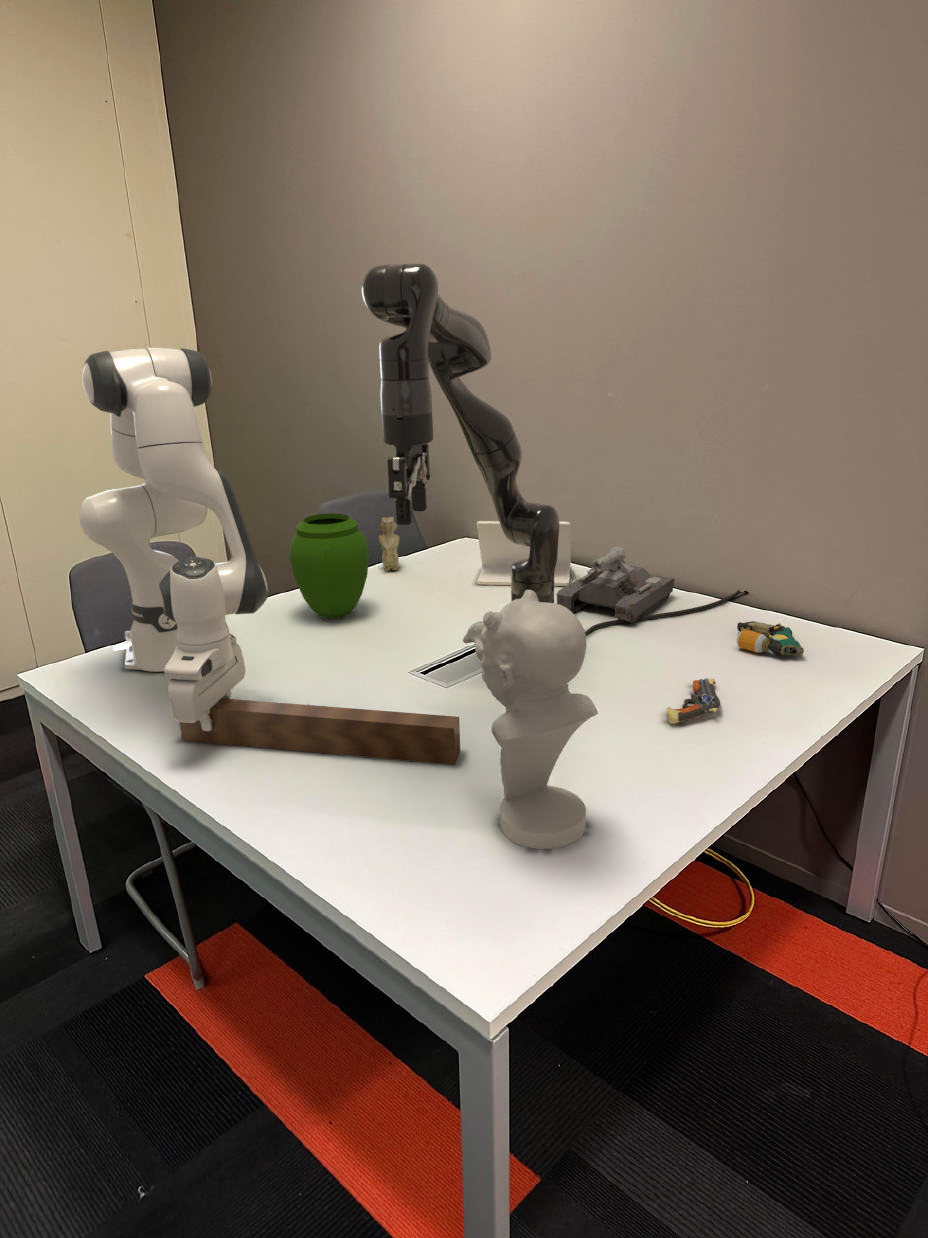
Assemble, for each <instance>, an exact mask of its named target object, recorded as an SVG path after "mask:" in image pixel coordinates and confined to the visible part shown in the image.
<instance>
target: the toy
mask: <svg viewBox="0 0 928 1238" xmlns="http://www.w3.org/2000/svg"><path fill="white" fill-rule="evenodd" d="M626 557H627V556H626V551H625V549H624V548H622V547H621V546H614V547H612V548H611V549H610V550H609V552H608V553H607V554H605V555H604V556H601V557H599V558H598V559H597V557H596V558H594V559H593V560H592V561H590V562H589V563H590V564H591V565H592V567H591V568H590V569H589V570H587V573H586V575H584V576H582V577H580V578H578V579H577V580H575V581H573V582H570V583H569V585H567V586H563V587H562V588H560V589H559V590H558V591H557V592H556V604H559V605H562V606H564V607H566V608H567V609H569V610H570V611H571V612H572V613H575V612H577V611H579V610H581V609H582V608H585V607H586V606H588V605H592V606H598V607H602V608H603V607H604V608H609V609H613V610H614V618H615V619H616V620H619V619H621V620H623V621H625V623H631V624H634V623H635V622H637V621H639V620H638V618H639V616H646V615H648V613H650V612H651V611H652V610H654V609H655V608H657V607H659V606H660V605H661V604H663V603H664V602H666V601H667V600H669V598H670V596H671V594H672V593H673V591H674V585H675V580H676V579H675V578H673V577H668V576H663V575H656V576H655V577H654V576H651V574H650V573H649V572H648V571H647V570H646V568H644V567H641V566H635V565H629V564H628V563H627V562H626V561H625V559H626ZM636 620H637V621H636Z"/></svg>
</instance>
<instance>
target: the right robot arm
mask: <svg viewBox="0 0 928 1238" xmlns="http://www.w3.org/2000/svg"><path fill="white" fill-rule="evenodd" d="M438 282H439V281H438V278H437V276H436V274H435V272H434V270H433V269H432V267H430V266H429V265H428V264H426V263H422V262H417V263H416V262H415V263H413V262H412V263H411V262H410V263H392V264H388V263H387V264H378V265H375V266H373V267H372V268H370V269H369V270H368V271H367V272H366V273H365V275H364V277H363V280H362V284H361V294H362V299H363V302H364V305H365V306H366V308H367V310H368V311H369V312H370V313H371V314H372V315H373V316H374V317H375V318H376V319H377V320H380V321H383V322H385V323H388V324H391V325H394V326H397V327H400V328H404V329H405V330H404V331H403V332H400V333H397V334H391V335H388V336H386V337H384V338H382V339H381V340H380V343H379V350H378V351H379V367H380V395H379V396H380V411H381V413H380V415H381V429H382V441H383V443H384V444H386V445H388V446H394V448H395V449H394V456H388V458H387V479H388V497H389V499H393V500H394V501H395V502H394V503H395V519H396V525H400V526H410V525H411V524H412V522H413V514H412V513H413V512H412V511H414V512H425V511H426V510H427V507H428V505H427V486H428V483H429V482H428V481H430V480H431V470H430V467H431V466H430V452H429V449H430V447H429V443H432V442H433V440H434V423H433V421H434V420H433V401H432V399H433V398H432V397H433V396H432V387H431V382H430V370H431V372H432V374H433V376H434V377H435V380H436V381H437V383H438V385H439V387H440V388H441V391H442V393H443V394H444V396H445V398H446V400H447V401H448V403H449V405H450V407H451V409H452V411H453V413H454V415H455V418H456V420H457V422H458V424H459V426H460V428H461V431H462V433H463V436H464V439H465V440H466V443H467V445H468V448H469V451H470V452H471V455H472V457H473V459H474V462H475V463H476V465H477V467H478V469H479V471H480V474H481V476H482V478H483V480H484V483H485V485H486V487H487V489H488V492H489V495H490V497H491V500H492V503H493V506H494V509H495V512H496V516H497V519H498V521H499V522H500V525H501V528H502V530H503V533H504V535H505V536H506V538H507V539H508V540H509V541H511V542H512V543H515V544H518V545H523V546H528V547H530V553H529V558H526V559H522V560H519V561H516V562H515V563H513V565H512V567H511V585H510V588H511V589H510V597H511V599H510V602H511V601H513V600H516V599H521V598H522V597H523V595H524V592H525V591H526V590H532V591H534V592H535V593H536V595H537V597H538V599H539V602H545V603H555V586H554V572H555V567H556V564H557V558H558V541H559V522H560V519H559V518H560V517H559V514H558V511H557V509H556V508H555V507H554V506H553V505H551V504H547V503H541V502H540V503H539V502H533V501H528V500H526V499H525V498H524V497H523V495H522V493H521V491H520V488H519V486H518V482H517V476H518V474H519V470H520V468H521V463H522V457H523V452H522V447H521V443H520V441H519V438H518V435H517V433H516V431H515V429H514V425H513V423H512V421H510V419H509V418H508V417H507V416H506V415H505V414H504V413H502V412H501V411H500V410H498V409H497V408H496V407H494V406H493V405H491V404H489V403H488V402H486V401H484V400H483V399H481V398H480V397H478V396H477V395H476V394H474V392H472V391H471V390H470V389H469V388H468V387H467V385H465V383H464V381H462V379H461V377H464V376H467V375H470V374H473V373H475V372H478V371H480V370H483V369H484V368H486V367H487V366H489V364H490V362H491V360H492V350H491V344H490V340H489V337H488V334H487V331H486V330H485V327H484V326H483V324H482V322H480V321H479V319H477V317H475V316H473V315H471V314H470V313H469V314H468V313H466V312H465V311H462V310H461V309H458V308H456V307H454V306H452V305H450V304H448V303H447V302H446V300H444V299H443V297H442V296H441V295H440V294H439V283H438ZM429 369H430V370H429ZM400 488H401V489H400ZM747 591H748V590H747ZM747 591H744V592H743V593H744V594H746V595H748V594H750V592H749V591H748V592H747ZM740 594H742V592H740V590H739V589H738V590H737V591H735V592H734V593H732V594H730V595H728V596H726V597H723V598H721V599H719V600H716V601H714V602H710V603H707V604H704V605H699V606H695V607H691V608H687V609H681V610H674V611H668V612H660V613H654V614H645V615H644V616H639V618H638V620H636V621H635V622H637V621H644V620H652V619H659V618H664V617H672V616H678V615H685V614H691V613H694V612H700V611H703V610H707V609H710V608H713V607H717V606H719V605H721V604H724V603H726V602H729V601H730V600H733V599H735V598H736V597H737V596H739V595H740ZM625 623H626V622H625V621H623V620H621V619H619V620H618V619H613V620H607V621H604V622H603V621H602V622H600V623H596V624H593V625H592V626H591V627H589V628H588V629H587V630H586V631H585V635H586V637H588V635H590V634H591V633H593V631H595V630H597V629H599V628H603V627H606V626H612V625H619V624H625Z"/></svg>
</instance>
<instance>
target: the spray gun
mask: <svg viewBox="0 0 928 1238" xmlns="http://www.w3.org/2000/svg"><path fill="white" fill-rule="evenodd" d="M736 625H737V626H736V629H737V631H738V632H739V633H738V634H737V637H736V644H737V647H739V649H743V650H746V651H750V652H753V653H759V654H760V653H763V652H764V653H766V652H768V651H769V650H771V651H773V652H776V653H780V654H781V655H782V656H784V655H786V656H800V657H801V656H803V655H804V652H805V648H803V647H802V645H801V644H800V642H799V641H798V640H796V639H795V637H794V636H793V630H792V629H791V628H790V627H788V626H787V627H785V625H782V624H781V622H778V623H776V624H775V625H774V624H769V623H764V622H760V621H755V620H751V621H746V622H741V621H739V622H737V624H736Z"/></svg>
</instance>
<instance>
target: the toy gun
mask: <svg viewBox="0 0 928 1238" xmlns="http://www.w3.org/2000/svg"><path fill="white" fill-rule="evenodd" d="M715 685H717V680H716V679H715V678H708V677H706V678H704V679H703V678H700V679H694V680H693V681H692V688H693V692H694V693H690V698H686V699H684V700H683V704H682V706H681V707H682V708H672V707H671V706H667V707H666V717H667V721H668V722H669V723H670V724H678V723H680V722H684V721H688V720H691V719H694V718H697V717H701V716H704V715H707V714H709V713H711V712H713V713H714V714H715V713H717V711H718V709H719V708H722V705H721V700H720V698H719V697H718V695H717V694H716V691H715ZM695 693H696V694H695Z"/></svg>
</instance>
